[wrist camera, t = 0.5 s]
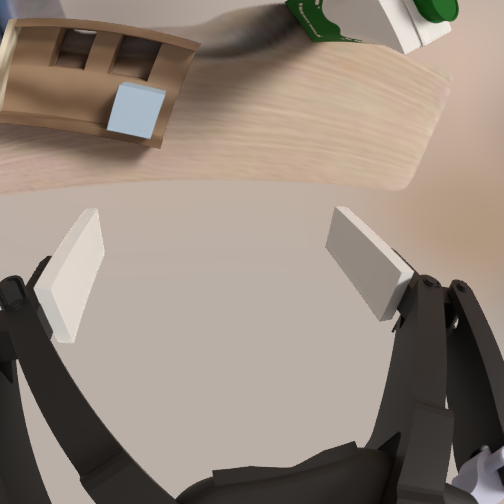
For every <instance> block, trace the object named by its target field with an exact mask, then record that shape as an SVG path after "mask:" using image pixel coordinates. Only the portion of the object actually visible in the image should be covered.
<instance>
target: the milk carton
mask: <svg viewBox="0 0 504 504" xmlns="http://www.w3.org/2000/svg"><path fill="white" fill-rule="evenodd" d="M285 4H286V5H287V6H288V8H289V9H290V10H291V11H292V13H293V14H294V16H295V17H296V18H297V20H298V21H299V22H300V24H301V25H302V27H303V28H304V30H305V31H306V33H307V34H308V35H309V37H310V38H311V40H312V41H313V42H357V43H368V44H377V45H385V46H387V47H389V48H392V49H394V50H396V51H398V52H400V53H402V54H404V55H406V54H408V53H409V52H411V51H413V50H415V49H416V48H418V47H422V46H425V45H427V44H429V43H430V42H431V41H433V40H435V39H437V38H439V37H441V36H443V35H444V34H446V33H448V32H450V31H451V27H450V24H449V22H448V21H454V20H455V19H456V18H457V16H458V12H459V7H458V2H457V0H287V1H286V2H285Z"/></svg>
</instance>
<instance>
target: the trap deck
mask: <svg viewBox="0 0 504 504" xmlns="http://www.w3.org/2000/svg"><path fill="white" fill-rule="evenodd" d="M67 29H78V30H88V31H97V34H96V37H95V39H94V42H93V45H92V48H91V50H90V53H89V56H88V59H87V62H86V66H85V69H84V68H76V67H68V66H57V65H56V63H57V59H58V56H59V53H60V50H61V47H62V44H63V41H64V38H65V35H66V32H67ZM125 36H129V37H135V38H140V39H145V40H149V41H154V42H158V43H162V45H161V48H160V50H159V52H158V55H157V57H156V60H155V62H154V65H153V67H152V70H151V73H150V75H149V78H148V80H145V79H140V78H136V77H131V76H126V75H121V74H116V73H111V72H112V69H113V66H114V63H115V60H116V58H117V55H118V52H119V49H120V47H121V44H122V42H123V39H124V37H125ZM200 44H201V43H197V42H194V41H191V40H187V39H184V38H180V37H176V36H173V35H169V34H165V33H160V32H156V31H152V30H147V29H142V28H137V27H132V26H126V25H119V24H113V23H106V22H98V21H89V20H77V19H59V18H28V19H9V21H8V24H7V27H6V30H5V33H4V36H3V40H2V43H1V47H0V123H11V124H21V125H30V126H38V127H45V128H53V129H60V130H66V131H73V132H79V133H85V134H90V135H96V136H101V137H107V138H112V139H117V140H122V141H127V142H131V143H136V144H141V145H145V146H150V147H154V148H158V149H160V148H161V145H162V142H163V135H164V132H165V129H166V126H167V123H168V120H169V117H170V115H171V112H172V109H173V106H174V104H175V101H176V98H177V96H178V93H179V91H180V88H181V86H182V83H183V81H184V78H185V76H186V73H187V71H188V69H189V66H190V64H191V62H192V59H193V57H194V55H195V53H196V52H197V51H198V49H199V47H200ZM124 82H129V83H134V84H139V85H143V86H148V87H152V88H156V89H160V90H164V91H166V93H165V97H164V100H163V103H162V105H161V108H160V111H159V114H158V117H157V120H156V123H155V126H154V129H153V132H152V135H151V139H148V138H144V137H139V136H135V135H130V134H125V133H120V132H115V131H110V130H107V127H108V123H109V119H110V115H111V112H112V108H113V105H114V101H115V98H116V95H117V91H118V88H119V85H121V84H122V83H124Z"/></svg>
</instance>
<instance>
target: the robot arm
mask: <svg viewBox="0 0 504 504" xmlns="http://www.w3.org/2000/svg"><path fill="white" fill-rule="evenodd" d="M326 249H327V250H328V251H329V252H330V254H331V255H332V257H333V258H334V259H335V260H336V262H337V263H338V265H339V266H340V267H341V269H342V270H343V271H344V273H345V274H346V275H347V277H348V278H349V279H350V281H351V282H352V283H353V285H354V286H355V288H356V289H357V290H358V292H359V293H360V295H361V296H362V297H363V299H364V300H365V301H366V303H367V304H368V306H369V307H370V309H371V310H372V311H373V313H374V314H375V316H376V317H377V318H378V320H379V321H385V320H390V319H392V318H393V316H394V314H395V312H396V310H398V311H399V313H400V314H401V315H400V317H399V318H398V320H397V322H396V324H395V326H394V328H393V330H392V332H394V330H396V334H395V340H394V346H393V351H392V357H391V362H390V367H389V372H388V376H387V381H386V385H385V389H384V393H383V398H382V401H381V405H380V409H379V412H378V416H377V419H376V423H375V426H374V430H373V433H372V435H371V438H370V440H369V441H368V443H367V444H366V446H365V447H364V448H357V445H356V443H355V441H353V442H350V443H347V444H344V445H341V446H338V447H335V448H331V449H328V450H324V451H322V452H320V453H319V454H317V455H315V456H313V457H311V458H309V459H308V460H306V461H304V462H302V463H300V464H298V465H296V466H294V467H290V468H277V467H255V466H248V467H240V468H232V469H222V470H213V471H212V472H213V477H210V478H206V479H204V480H201V481H199V482H197V483H195V484H193V485H192V486H190V487H188V488H187V489H186V490H185V491H183V492H182V493H181V494H180V495H179V496H178V497H177V498H176V499H174V498H173V497H172V496H170V495H169V494H168V493H167V492H166V491H165V490H164V489H163V488H162V487H161V486H160V485H158V483H156V482H155V481H154V480H153V479H152V478H151V477H150V476H149V475H148V474H147V473H146V472H145V471H144V470H143V469H142V468H141V467H140V466H139V464H138V463H137V462H136V461H135V460H134V459H133V458H132V457H131V456H130V455H129V454H128V453H127V452H126V450H125V449H124V448H123V447H122V446H121V445H120V443H119V442H118V441H117V440H116V439H115V437H114V436H113V435H112V434H111V432H110V431H109V430H108V429H107V428H106V426H105V425H104V423H103V422H102V421H101V419H100V418H99V417H98V416H97V414H96V413H95V411H94V410H93V409H92V407H91V406H90V404H89V403H88V402H87V400H86V399H85V397H84V396H83V394H82V393H81V391H80V390H79V388H78V387H77V385H76V384H75V382H74V380H73V379H72V377H71V376H70V374H69V372H68V371H67V369H66V367H65V366H64V364H63V362H62V361H61V359H60V357H59V355H58V353H57V352H56V350H55V348H54V346H53V344H52V342H51V341H50V339H51V337H52V333H54V335H55V337H56V339H57V341H58V342H62V343H74V340H75V337H76V334H77V330H78V327H79V324H80V320H81V317H82V314H83V311H84V308H85V305H86V302H87V299H88V296H89V294H90V291H91V288H92V285H93V283H94V280H95V277H96V275H97V272H98V269H99V267H100V264H101V262H102V259H103V257H104V254H105V251H104V246H103V240H102V234H101V228H100V223H99V216H98V209H97V208H96V209H95V208H94V209H85V210H84V211H83V212H82V213H81V215H80V216H79V218H78V219H77V220H76V222H75V223H74V225H73V226H72V227H71V229H70V230H69V232H68V233H67V235H66V236H65V238H64V239H63V241H62V242H61V244H60V245H59V247H58V248H57V250H56V251H55V253H54V254H53V256H47V257H46V258H45V259H43V260H42V261H41V262H40V263H39V265H38V267H37V268H36V271H34V273H33V275H32V277H31V278H30V280H29V281H28V283H27V285H26V286H25V285H24V282H23V279H22V278H21V277H20V276H17V275H15V276H9V277H7V278H5V279H3V280H2V281H1V282H0V306H1V309H2V310H0V504H52V503H51V501H50V498H49V496H48V494H47V491H46V489H45V486H44V483H43V481H42V478H41V475H40V472H39V469H38V466H37V463H36V460H35V457H34V454H33V450H32V447H31V443H30V439H29V435H28V431H27V427H26V423H25V418H24V413H23V409H22V403H21V397H20V390H19V383H18V375H17V367H16V359H18V360H19V363H20V365H21V368H22V370H23V373H24V375H25V378H26V380H27V382H28V385H29V387H30V389H31V391H32V394H33V395H34V398H35V400H36V402H37V404H38V406H39V408H40V410H41V412H42V414H43V416H44V418H45V419H46V421H47V423H48V425H49V427H50V429H51V431H52V432H53V434H54V436H55V437H56V439H57V441H58V442H59V444H60V446H61V447H62V449H63V450H64V452H65V454H66V455H67V457H68V458H69V460H70V461H71V463H72V464H73V465H74V467H75V469H76V470H77V471H78V473H79V475H80V482H81V484H82V486H83V487H84V489H85V490H86V491H87V493H88V494H89V495H90V497H91V498H92V499H93V500H94V502H95V503H96V504H498V503H499V502H500V501H501V500H502V499H503V498H504V361H503V358H502V355H501V353H500V350H499V347H498V345H497V343H496V340H495V338H494V335H493V333H492V331H491V328H490V326H489V324H488V322H487V320H486V318H485V315H484V313H483V311H482V309H481V307H480V305H479V303H478V301H477V299H476V297H475V295H474V293H473V291H472V290H471V288H470V287H469V286H468V285H467V283H465V282H463V281H460V280H453V281H452V283H451V285H450V287H449V288H447V287H442V286H441V284H440V283H439V281H437V280H436V279H435V278H433V277H431V276H429V275H419V274H418V273H417V272H416V271H415V270H414V269H413V268H412V267H411V266H410V265H409V264H408V263H407V262H406V261H405V260H404V259H403V258H401V256H400V255H399V254H398V253H397V252H396V251H395V250H393V249H392V248H390V247H389V246H388V245H387V244H386V243H385V242H383V240H381V238H380V237H378V236H377V235H376V234H375V233H374V232H373V231H372V230H371V229H370V228H369V227H368V226H367V225H366V224H365V223H363V222H362V221H361V220H360V219H359V218H358V217H357V216H356V215H355V214H353V213H352V212H351V211H350V210H349V209H348V208H347V207H339V206H335V209H334V213H333V217H332V221H331V226H330V230H329V234H328V238H327V243H326ZM457 319H458V325H457V327H456V328H455V325H454V324H455V323H456V321H457ZM446 397H447V402H448V408H449V409H446V408H445V399H446ZM452 443H453V451H454V458H455V463H456V467H457V471H458V476H456V477H455V478H453V480H452V485H450V484H448V483H446V476H447V472H448V466H449V460H450V453H451V445H452Z"/></svg>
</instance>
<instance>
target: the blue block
mask: <svg viewBox="0 0 504 504" xmlns="http://www.w3.org/2000/svg"><path fill="white" fill-rule="evenodd" d="M165 93H166V91H164V90H160V89H156V88H152V87H148V86H143V85H139V84H134V83H129V82H124V83H122V84H121V85H119V88H118V91H117V95H116V98H115V101H114V105H113V108H112V112H111V115H110V119H109V123H108V127H107V130H110V131H115V132H120V133H125V134H130V135H135V136H139V137H144V138H148V139H151V135H152V132H153V129H154V126H155V123H156V120H157V117H158V114H159V111H160V108H161V105H162V103H163V100H164V97H165Z"/></svg>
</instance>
